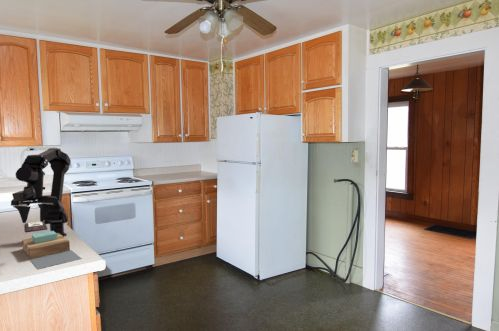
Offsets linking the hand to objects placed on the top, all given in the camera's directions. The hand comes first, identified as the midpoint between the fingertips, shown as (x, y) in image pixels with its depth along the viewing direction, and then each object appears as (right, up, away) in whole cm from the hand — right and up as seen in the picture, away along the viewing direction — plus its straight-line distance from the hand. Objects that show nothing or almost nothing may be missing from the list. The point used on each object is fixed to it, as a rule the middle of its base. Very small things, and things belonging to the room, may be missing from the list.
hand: (32, 222), depth 144 cm
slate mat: (+13, -13, -7) cm, 20 cm away
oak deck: (+3, -12, +4) cm, 13 cm away
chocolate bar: (-23, -9, +40) cm, 47 cm away
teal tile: (+3, -7, +4) cm, 8 cm away
